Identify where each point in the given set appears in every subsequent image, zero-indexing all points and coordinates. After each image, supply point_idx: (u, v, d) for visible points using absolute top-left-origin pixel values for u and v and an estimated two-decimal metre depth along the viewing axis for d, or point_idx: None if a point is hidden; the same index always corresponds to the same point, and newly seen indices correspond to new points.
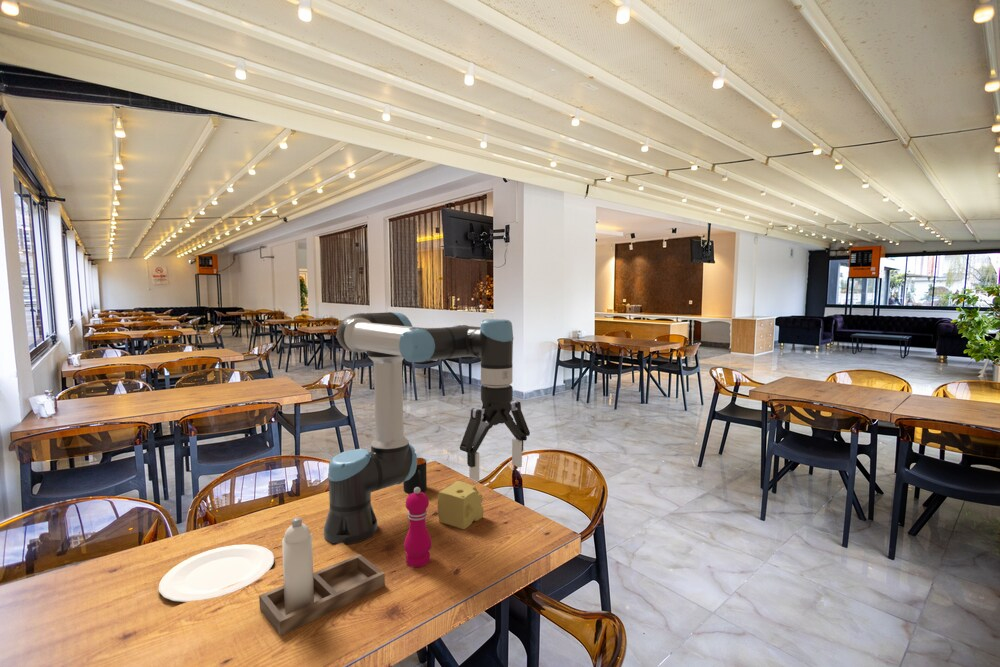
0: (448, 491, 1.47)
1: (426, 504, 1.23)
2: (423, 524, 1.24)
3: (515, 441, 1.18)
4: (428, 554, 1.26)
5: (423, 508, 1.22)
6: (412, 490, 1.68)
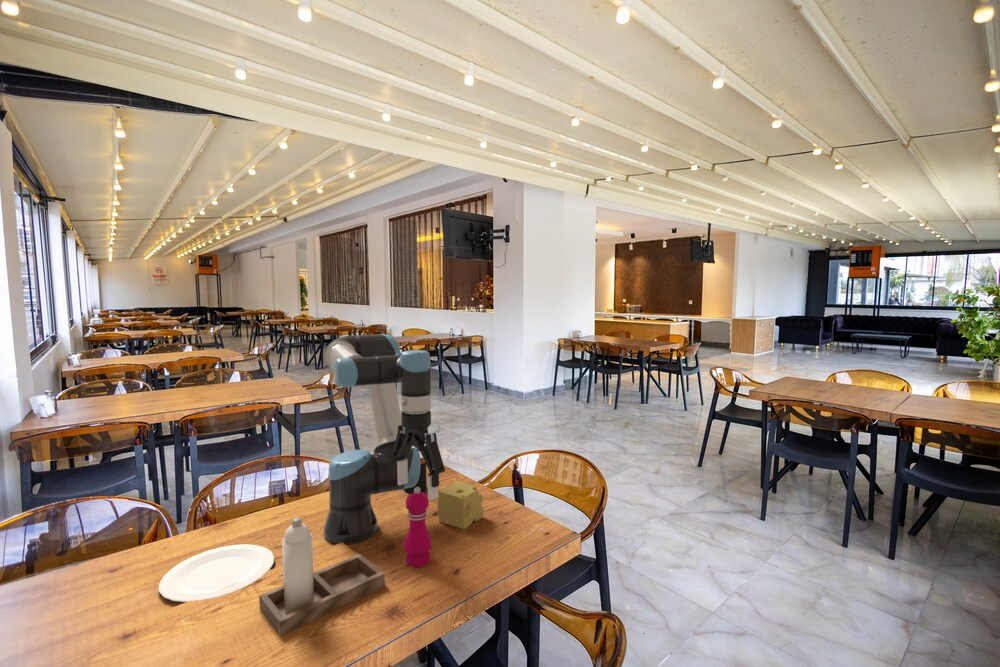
0: (448, 491, 1.47)
1: (426, 504, 1.23)
2: (423, 524, 1.24)
3: None
4: (428, 554, 1.26)
5: (423, 508, 1.22)
6: (412, 490, 1.68)
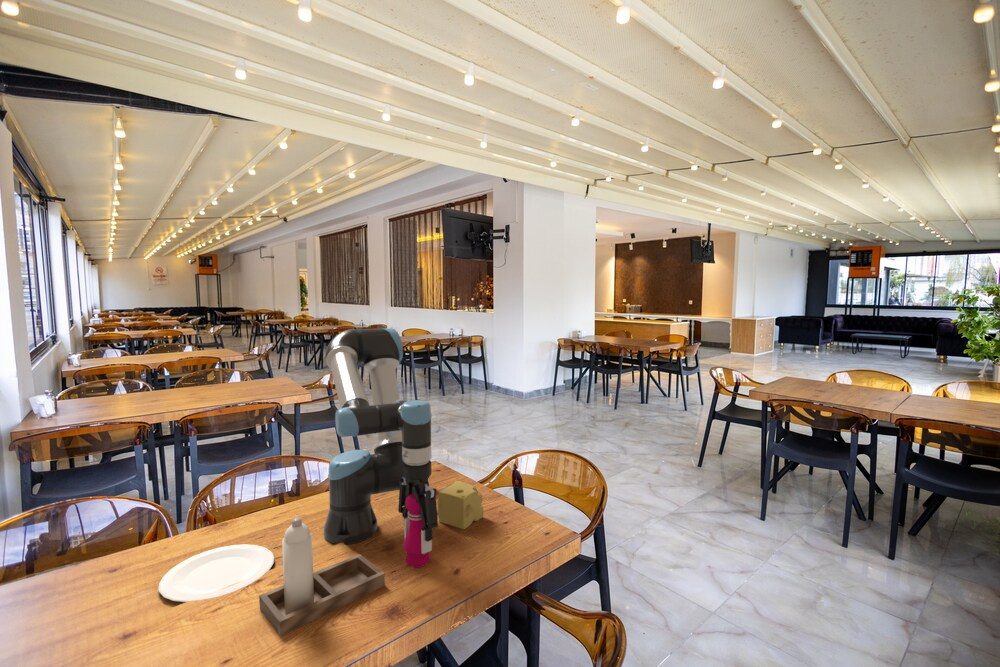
0: (448, 491, 1.47)
1: None
2: None
3: None
4: (428, 553, 1.26)
5: None
6: None
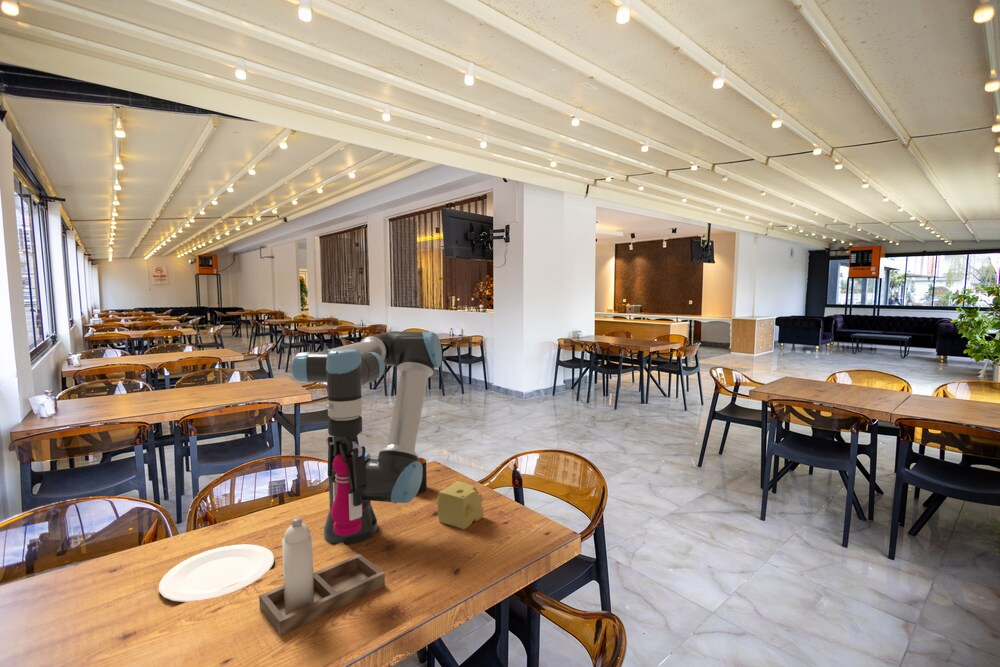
0: (448, 491, 1.47)
1: None
2: None
3: None
4: (359, 521, 1.12)
5: None
6: None
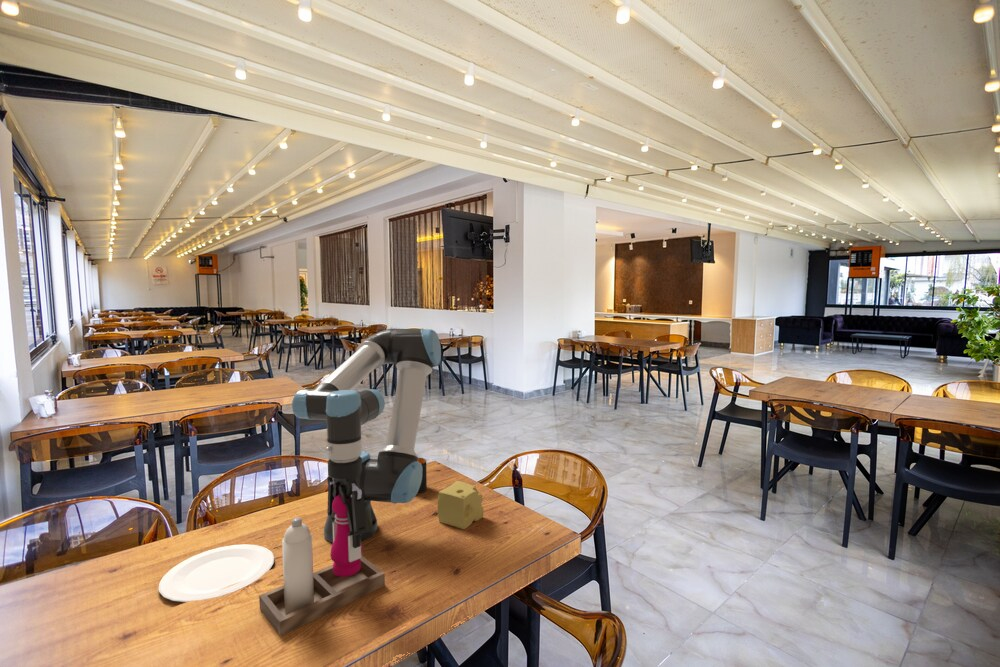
0: (448, 491, 1.47)
1: None
2: None
3: None
4: (359, 561, 1.12)
5: None
6: None
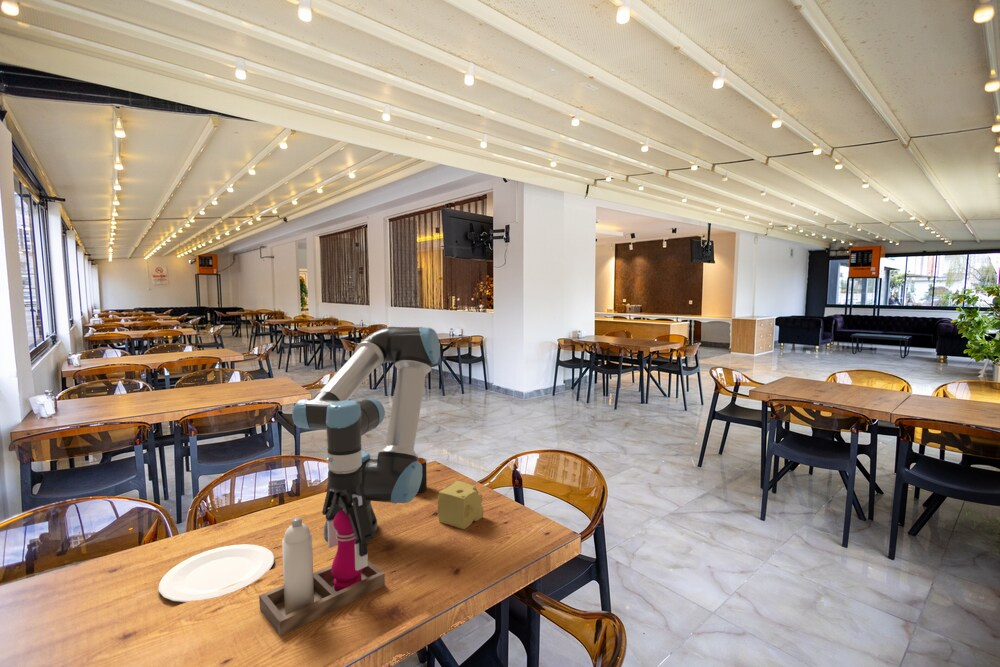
0: (448, 491, 1.47)
1: None
2: (353, 545, 1.11)
3: None
4: (359, 578, 1.13)
5: (352, 528, 1.09)
6: None
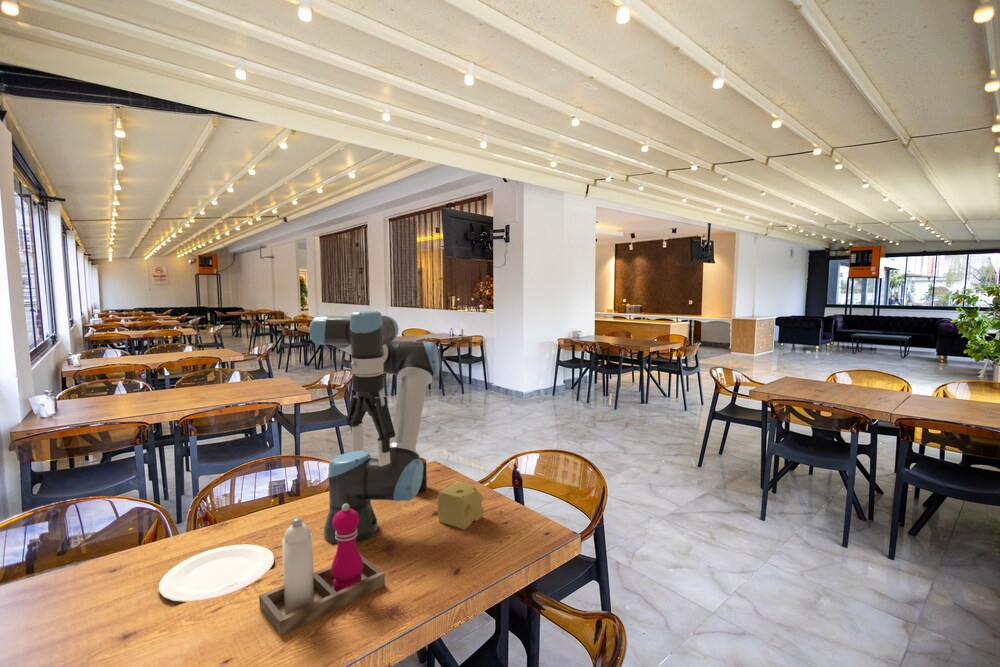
0: (448, 491, 1.47)
1: (355, 522, 1.10)
2: (352, 545, 1.11)
3: None
4: (359, 577, 1.13)
5: (351, 527, 1.10)
6: None
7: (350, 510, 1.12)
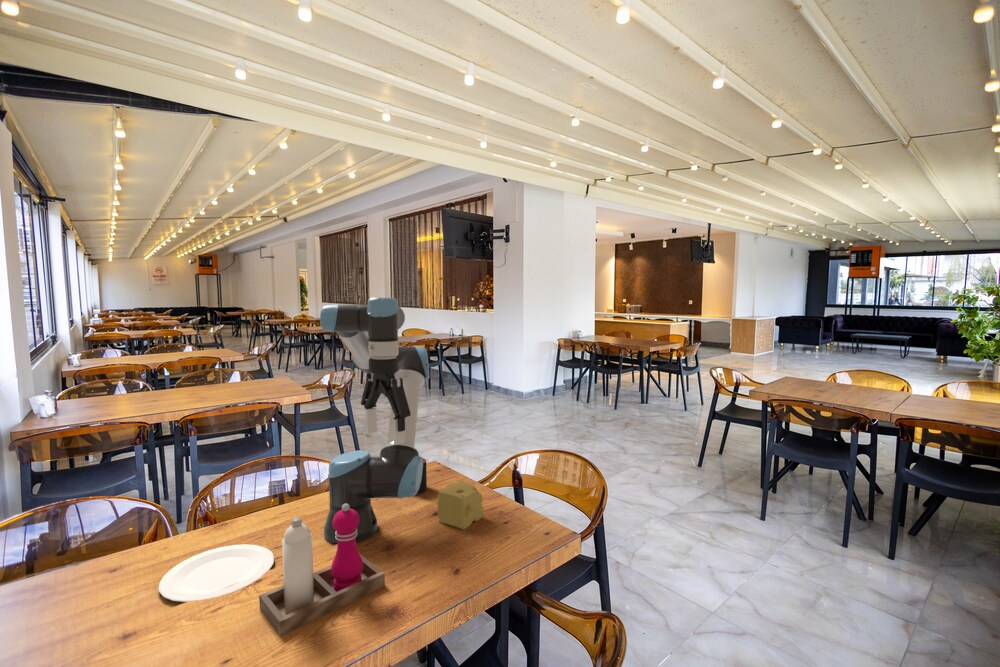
0: (448, 491, 1.47)
1: (355, 522, 1.10)
2: (352, 545, 1.11)
3: None
4: (359, 577, 1.13)
5: (351, 527, 1.10)
6: None
7: (350, 510, 1.12)
